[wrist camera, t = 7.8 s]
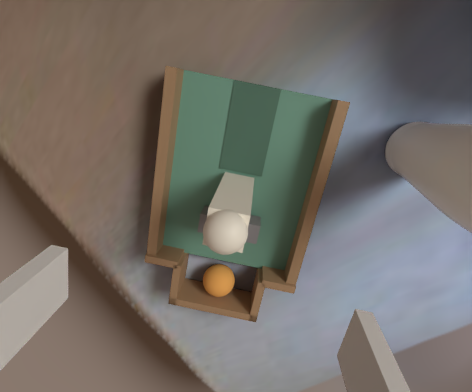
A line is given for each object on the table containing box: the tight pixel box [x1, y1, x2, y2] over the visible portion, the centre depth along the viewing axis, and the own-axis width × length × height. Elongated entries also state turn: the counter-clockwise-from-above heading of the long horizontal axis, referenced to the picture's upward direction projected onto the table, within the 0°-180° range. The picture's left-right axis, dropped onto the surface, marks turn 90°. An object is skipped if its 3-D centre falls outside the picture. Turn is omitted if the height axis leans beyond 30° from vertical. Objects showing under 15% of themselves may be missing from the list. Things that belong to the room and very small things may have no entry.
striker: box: [197, 172, 261, 255], centre depth 26 cm, size 6×6×12 cm
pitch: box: [145, 66, 350, 322], centre depth 32 cm, size 24×16×4 cm, turn 169°
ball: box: [203, 264, 235, 297], centre depth 35 cm, size 4×4×4 cm
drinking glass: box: [385, 121, 472, 233], centre depth 23 cm, size 7×7×15 cm
